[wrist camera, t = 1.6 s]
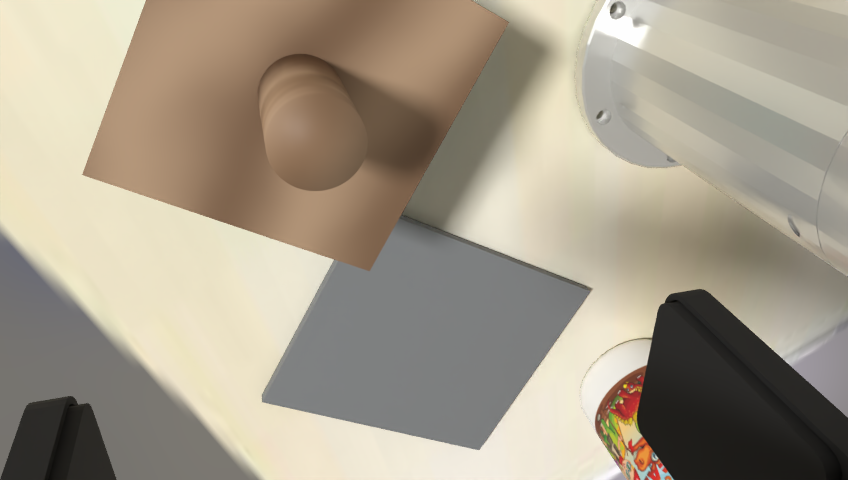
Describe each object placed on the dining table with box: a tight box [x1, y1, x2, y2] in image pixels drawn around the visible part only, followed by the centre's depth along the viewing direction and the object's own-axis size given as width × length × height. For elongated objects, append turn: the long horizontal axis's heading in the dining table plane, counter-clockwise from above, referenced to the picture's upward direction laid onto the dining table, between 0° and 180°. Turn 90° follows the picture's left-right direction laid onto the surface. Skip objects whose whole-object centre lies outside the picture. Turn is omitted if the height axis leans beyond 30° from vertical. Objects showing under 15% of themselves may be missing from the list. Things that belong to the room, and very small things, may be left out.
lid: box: [82, 0, 509, 271], centre depth 24 cm, size 12×12×6 cm
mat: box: [262, 215, 590, 450], centre depth 42 cm, size 16×14×1 cm
